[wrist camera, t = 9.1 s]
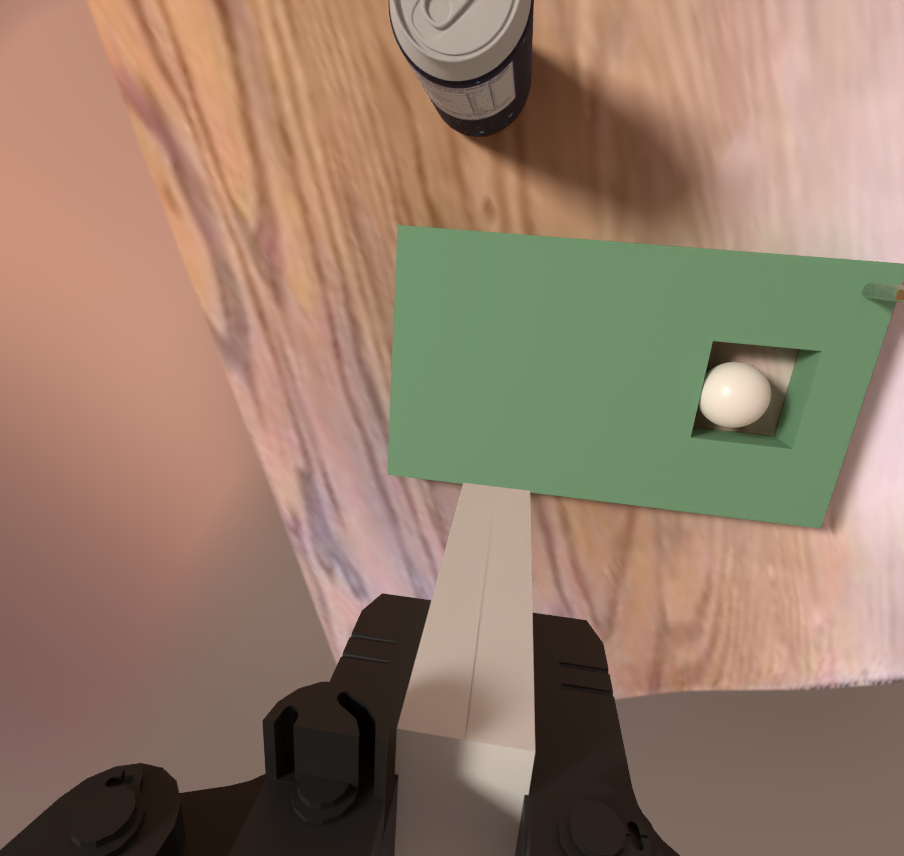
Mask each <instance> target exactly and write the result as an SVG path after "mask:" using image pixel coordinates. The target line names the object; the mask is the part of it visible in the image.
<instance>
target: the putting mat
mask: <svg viewBox="0 0 904 856" xmlns="http://www.w3.org/2000/svg"><path fill="white" fill-rule="evenodd" d="M903 280H904V264H900V263H887V262H874V261H861V260H848V259H835V258H822V257H809V256H796V255H782V254H769V253H756V252H743V251H730V250H717V249H704V248H691V247H678V246H665V245H652V244H639V243H626V242H613V241H600V240H587V239H574V238H560V237H547V236H534V235H521V234H508V233H495V232H482V231H469V230H456V229H443V228H430V227H417V226H404V225H398V231H397V255H396V280H395V304H394V328H393V352H392V376H391V400H390V425H389V449H388V473H387V475H395V476H403V477H411V478H419V479H427V480H435V481H443V482H451V483H459V484H463V483H469V484H478V485H486V486H495V487H503V488H512V489H520V490H529V491H530V492H531V493H539V494H547V495H555V496H563V497H571V498H579V499H587V500H595V501H603V502H611V503H619V504H627V505H635V506H643V507H651V508H659V509H667V510H675V511H683V512H691V513H699V514H707V515H715V516H723V517H731V518H739V519H747V520H755V521H764V522H772V523H780V524H788V525H796V526H804V527H812V528H820V529H821V526H822V523H823V520H824V517H825V514H826V511H827V508H828V505H829V502H830V499H831V496H832V493H833V490H834V487H835V484H836V481H837V478H838V475H839V472H840V469H841V466H842V463H843V460H844V457H845V454H846V451H847V448H848V445H849V442H850V439H851V436H852V433H853V430H854V427H855V424H856V421H857V418H858V415H859V412H860V409H861V406H862V403H863V400H864V397H865V394H866V391H867V388H868V385H869V382H870V379H871V376H872V373H873V370H874V367H875V364H876V361H877V358H878V355H879V352H880V349H881V346H882V343H883V340H884V337H885V334H886V331H887V328H888V325H889V322H890V319H891V316H892V313H893V310H894V307H895V304H896V301H889V300H880V299H872V298H865V297H864V296H863V295H862V289H863V287H864V286H865V285H866V284H868V283H880V284H893V285H902V283H903ZM713 341H719V342H729V343H740V344H751V345H761V346H772V347H783V348H794V349H799V351H798V355H797V358H796V362H795V365H794V369H793V372H792V376H791V379H790V383H789V386H788V390H787V393H786V397H785V400H784V404H783V407H782V411H781V414H780V418H779V421H778V425H777V428H776V432H775V435H774V436H770V435H760V434H751V433H742V432H733V431H724V430H715V429H705V428H696V427H693V425H694V421H695V416H696V412H697V408H698V403H699V399H700V395H701V390H702V386H703V382H704V378H705V373H706V369H707V365H708V360H709V356H710V352H711V347H712V343H713Z"/></svg>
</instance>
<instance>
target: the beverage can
mask: <svg viewBox="0 0 904 856" xmlns="http://www.w3.org/2000/svg"><path fill="white" fill-rule="evenodd" d="M533 6H534V0H389V15H390V22H391V26H392V30H393V33H394V36H395V39H396V41H397V43H398V45H399V47H400V49H401V51H402V53H403V54H404V56H405V58H406V59H407V61H408V63H409V64H410V66H411V68H412V69H413V71H414V73H415V74H416V76H417V78H418V79H419V81H420V83H421V84H422V86H423V88H424V89H425V91H426V93H427V94H428V96H429V98H430V99H431V101H432V103H433V104H434V106H435V108H436V109H437V111H438V113H439V114H440V116H441V117H442V119H443V120H444V121H445V122H446V123H447V124H448V125H449V126H450V127H451V128H453V129H454V130H456V131H458V132H460V133H462V134H465V135H468V136H474V137H482V136H488V135H492V134H495V133H497V132H499V131H501V130H503V129H504V128H506V127H507V126H508V125H509V124H511V123H512V122H513V121H514V119H515V118H516V117H517V116H518V115H519V113H520V112H521V110H522V108H523V107H524V105H525V102H526V100H527V97H528V94H529V90H530V84H531V65H532V36H533Z"/></svg>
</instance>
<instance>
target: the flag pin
mask: <svg viewBox="0 0 904 856" xmlns="http://www.w3.org/2000/svg"><path fill="white" fill-rule="evenodd" d="M862 295H863V296H864V297H865V298H872V299H880V300H889V301H897V302H904V285H893V284H880V283H868V284H866V285H865V286H864V287H863V289H862Z"/></svg>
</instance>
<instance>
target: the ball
mask: <svg viewBox="0 0 904 856" xmlns="http://www.w3.org/2000/svg"><path fill="white" fill-rule="evenodd" d="M770 400H771V388H770V384H769V382H768V380H767V378H766V377H765V375H764V374H763V373H762V372H761V371H760V370H759V369H757V368H756V367H754V366H752V365H750V364H747V363H743V362H727V363H723V364H720V365H717V366H715V367H714V368H712V369H711V370H709V371H708V372H707V373H706V374H705V378H704V382H703V386H702V390H701V395H700V399H699V403H698V406H699V409H700V411H701V412H702V414H703V415H704V416H705V417H706V418H707V419H708V420H710V421H711V422H713V423H714V424H717V425H719V426H722V427H727V428H738V427H743V426H746V425H749V424H751V423H753V422H755V421H756V420H758V419H759V418H760V417H761V416H762V415H763V414H764V413H765V411H766V410H767V408H768V406H769V404H770Z"/></svg>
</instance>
